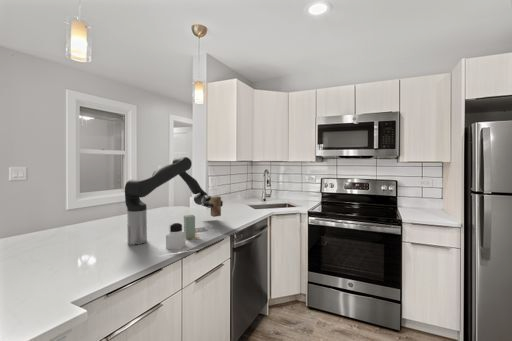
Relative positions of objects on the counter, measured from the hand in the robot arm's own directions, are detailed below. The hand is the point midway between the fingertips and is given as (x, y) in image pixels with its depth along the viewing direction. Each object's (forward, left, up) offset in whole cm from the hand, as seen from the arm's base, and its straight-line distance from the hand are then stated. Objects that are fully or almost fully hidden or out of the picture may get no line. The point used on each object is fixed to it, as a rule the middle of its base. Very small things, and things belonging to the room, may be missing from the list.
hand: (217, 205), depth 161 cm
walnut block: (0, +3, -7) cm, 7 cm away
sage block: (-20, -9, -15) cm, 27 cm away
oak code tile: (-20, -9, -15) cm, 27 cm away
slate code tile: (-11, +3, -15) cm, 19 cm away
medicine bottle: (-30, -21, -16) cm, 40 cm away
